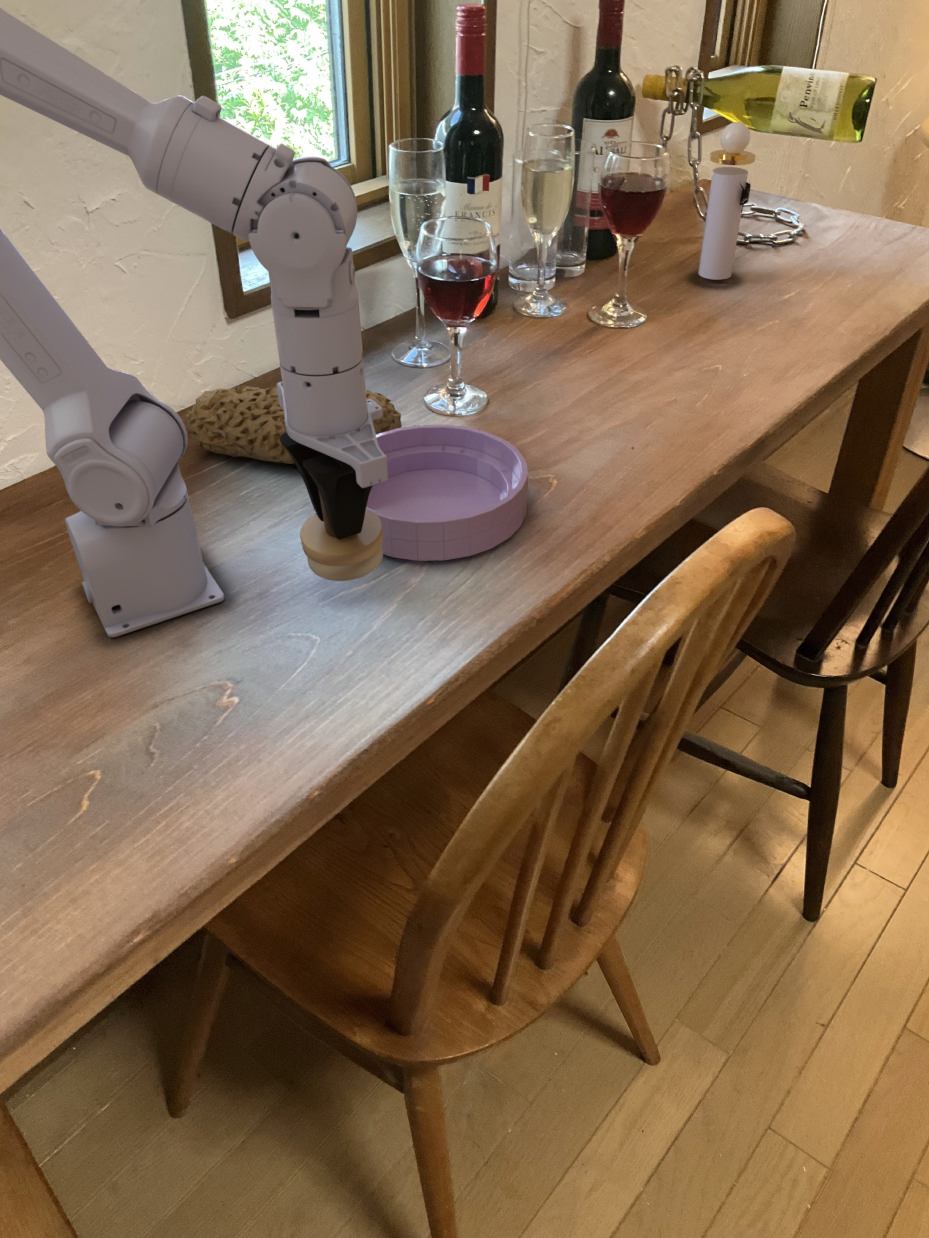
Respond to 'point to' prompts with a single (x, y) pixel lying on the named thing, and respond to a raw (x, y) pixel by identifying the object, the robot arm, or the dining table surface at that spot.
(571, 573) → the dining table surface
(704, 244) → the white cylinder with ball
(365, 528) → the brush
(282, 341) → the robot arm
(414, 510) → the bowl
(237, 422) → the sponge
